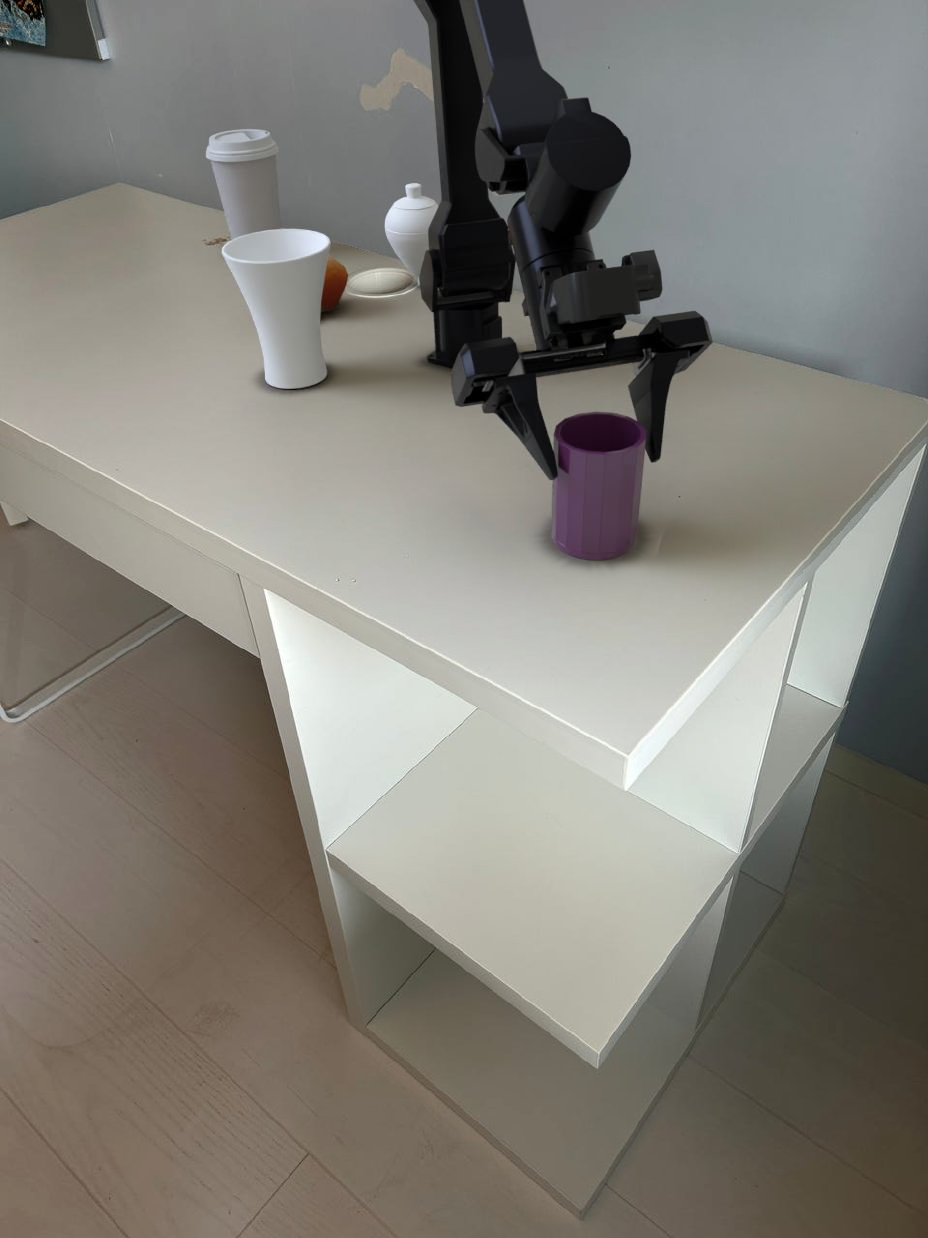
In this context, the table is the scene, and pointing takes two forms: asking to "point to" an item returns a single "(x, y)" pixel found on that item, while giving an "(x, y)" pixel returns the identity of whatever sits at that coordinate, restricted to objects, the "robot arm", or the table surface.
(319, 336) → the cup
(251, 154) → the coffee cup
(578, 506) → the tumbler
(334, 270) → the fruit
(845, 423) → the table surface
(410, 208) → the spinning top
